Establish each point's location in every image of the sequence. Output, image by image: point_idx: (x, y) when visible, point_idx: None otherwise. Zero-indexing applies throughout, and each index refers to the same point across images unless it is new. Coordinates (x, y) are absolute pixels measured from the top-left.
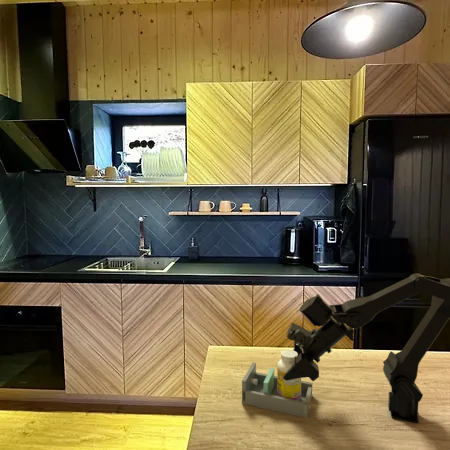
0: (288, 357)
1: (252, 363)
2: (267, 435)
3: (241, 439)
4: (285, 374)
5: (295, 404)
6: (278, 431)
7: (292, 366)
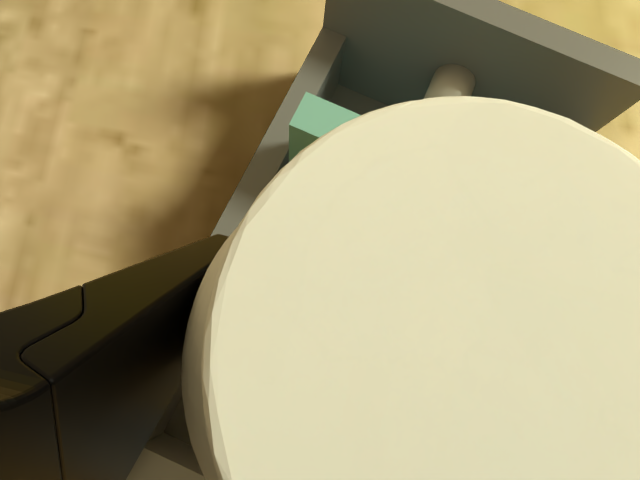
0: (231, 248)
1: (636, 59)
2: (25, 154)
3: (27, 27)
4: (203, 250)
5: None
6: (43, 220)
7: (69, 338)
